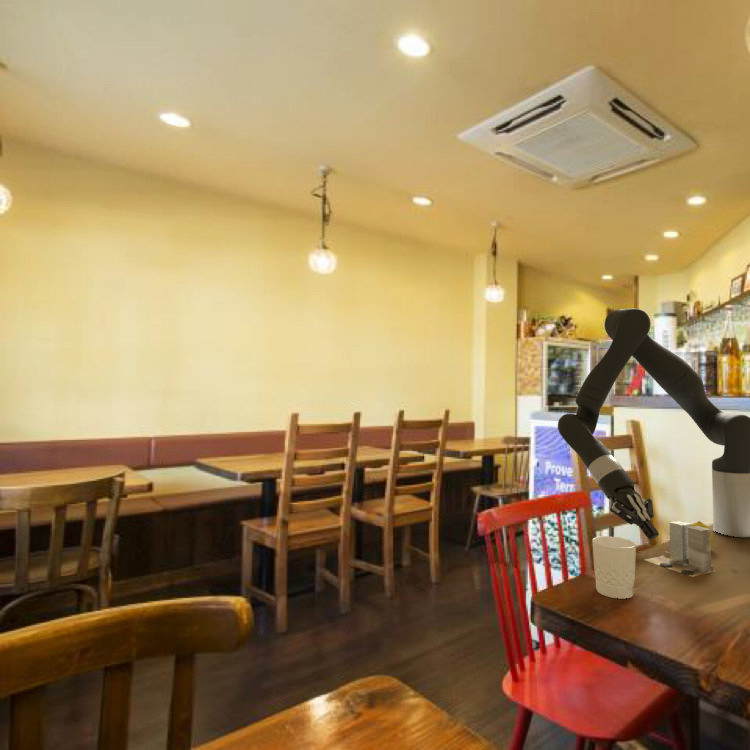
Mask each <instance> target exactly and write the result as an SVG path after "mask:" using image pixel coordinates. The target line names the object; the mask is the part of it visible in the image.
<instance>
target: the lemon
mask: <svg viewBox="0 0 750 750" xmlns="http://www.w3.org/2000/svg"><path fill="white" fill-rule="evenodd" d="M693 526H699V527H703V528H708V529H711V528H710V527H709V526H708V525H707V524H705V523H703V522H702V521H697V522H694V523H691V527H693ZM713 546H714V534H713V531H712V530H711V549H712V548H713Z"/></svg>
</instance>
